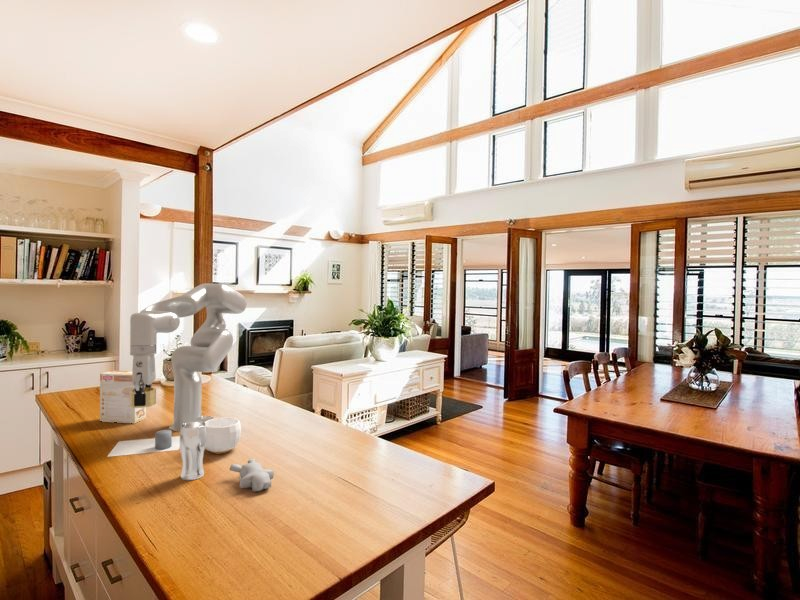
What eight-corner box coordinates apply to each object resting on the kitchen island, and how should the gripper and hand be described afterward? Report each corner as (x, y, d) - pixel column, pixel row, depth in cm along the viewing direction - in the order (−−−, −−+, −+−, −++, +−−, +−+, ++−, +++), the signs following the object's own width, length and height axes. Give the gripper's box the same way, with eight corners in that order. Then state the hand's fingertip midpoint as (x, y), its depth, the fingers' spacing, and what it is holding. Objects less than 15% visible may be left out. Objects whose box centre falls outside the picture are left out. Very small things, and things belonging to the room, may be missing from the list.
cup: (192, 454, 139) (192, 425, 139) (220, 442, 151) (220, 414, 151) (222, 460, 135) (222, 430, 135) (248, 447, 147) (249, 419, 146)
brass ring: (157, 401, 147) (157, 386, 147) (152, 406, 141) (152, 391, 140) (133, 402, 145) (133, 387, 145) (127, 408, 138) (127, 393, 138)
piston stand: (183, 438, 153) (183, 421, 153) (178, 452, 140) (178, 434, 140) (118, 444, 146) (118, 426, 146) (106, 459, 133) (107, 440, 133)
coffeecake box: (146, 418, 174) (147, 371, 174) (134, 424, 167) (134, 374, 167) (112, 416, 176) (113, 369, 175) (98, 422, 169) (99, 373, 168)
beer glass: (179, 472, 126) (180, 422, 125) (205, 469, 128) (206, 419, 128) (177, 482, 119) (178, 429, 119) (205, 479, 122) (206, 427, 122)
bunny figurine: (247, 483, 112) (226, 459, 122) (246, 501, 112) (225, 475, 123) (281, 473, 118) (257, 451, 129) (279, 490, 119) (256, 467, 130)
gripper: (149, 353, 135) (149, 409, 136) (161, 345, 152) (161, 395, 152) (122, 354, 133) (122, 410, 133) (137, 346, 149) (137, 396, 150)
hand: (143, 402), depth 143 cm, fingers closed on brass ring, 7 cm apart
